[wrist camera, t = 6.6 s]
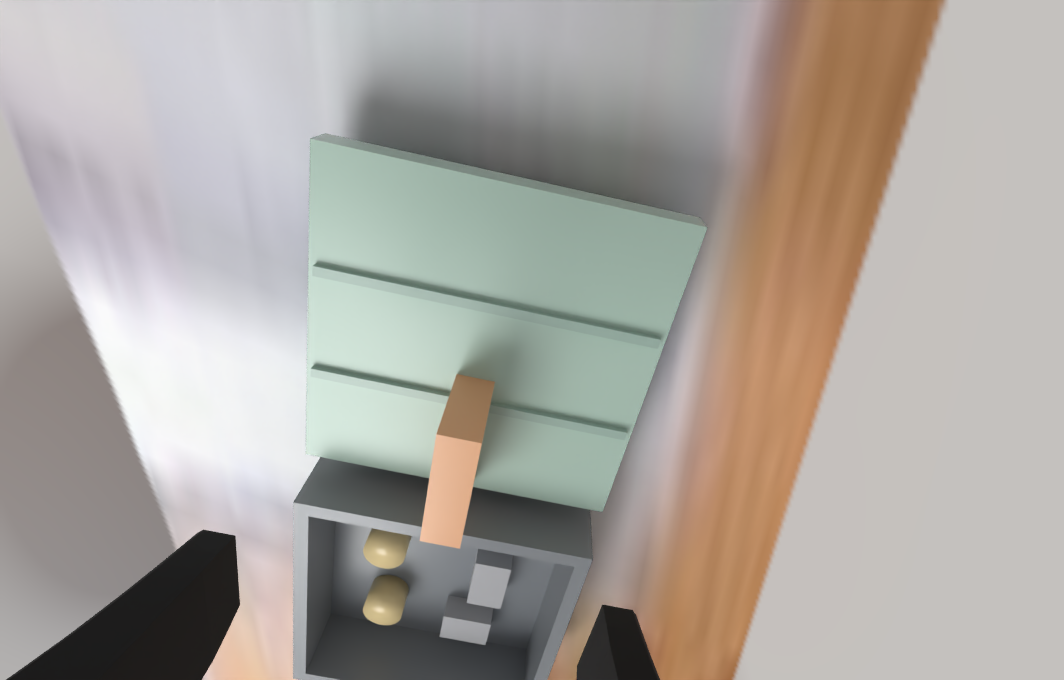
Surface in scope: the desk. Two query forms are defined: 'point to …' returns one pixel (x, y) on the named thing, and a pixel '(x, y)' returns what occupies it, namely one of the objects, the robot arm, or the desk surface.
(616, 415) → the lid
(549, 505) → the tub
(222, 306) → the desk surface
